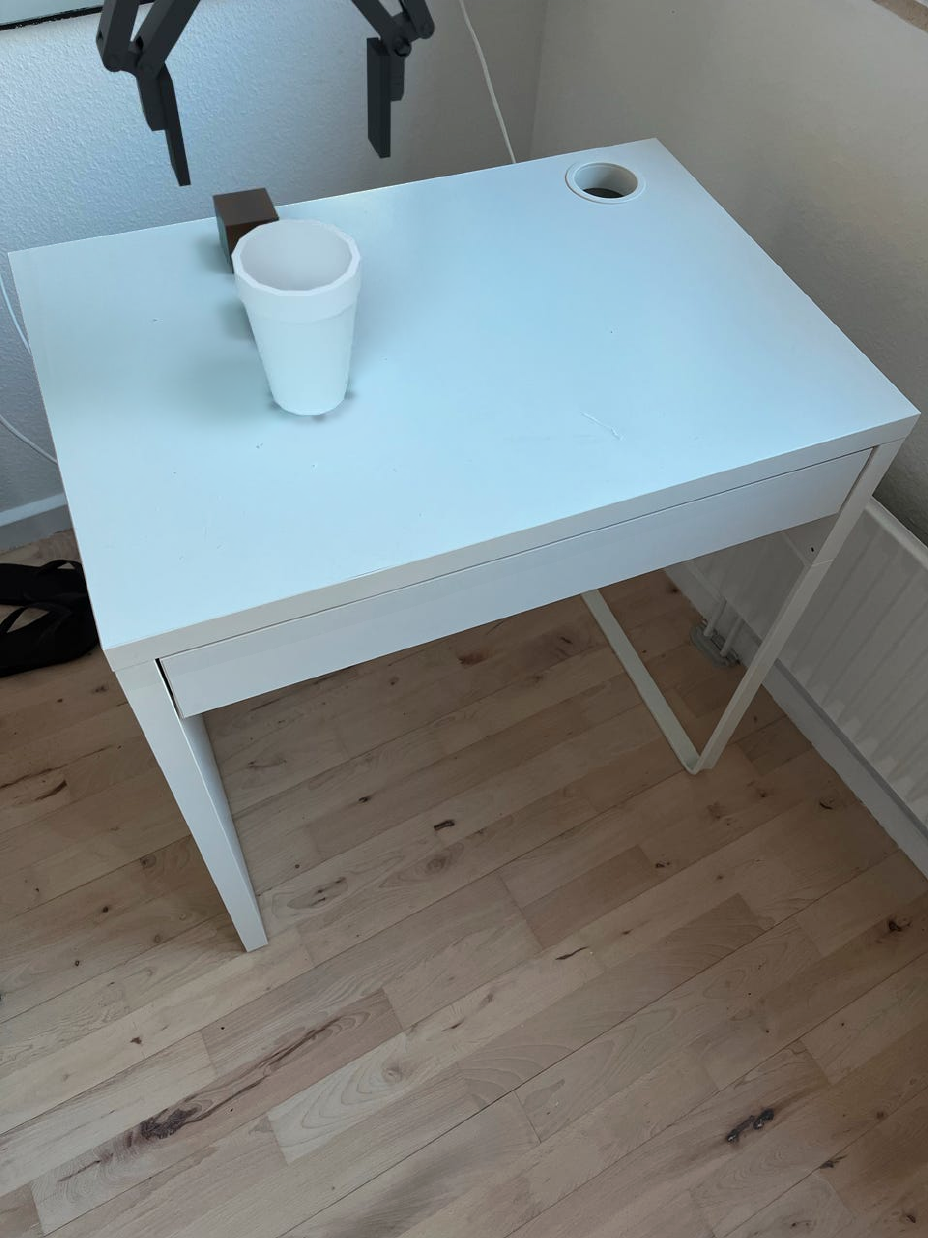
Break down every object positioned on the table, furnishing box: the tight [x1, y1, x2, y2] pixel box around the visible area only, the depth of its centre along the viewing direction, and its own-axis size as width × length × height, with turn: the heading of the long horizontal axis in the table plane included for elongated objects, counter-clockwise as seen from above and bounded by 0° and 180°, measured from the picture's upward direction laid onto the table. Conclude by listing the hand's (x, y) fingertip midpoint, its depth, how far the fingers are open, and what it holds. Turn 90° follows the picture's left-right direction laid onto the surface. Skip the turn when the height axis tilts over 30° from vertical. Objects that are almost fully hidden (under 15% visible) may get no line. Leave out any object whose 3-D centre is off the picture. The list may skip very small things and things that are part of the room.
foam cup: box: [231, 218, 363, 416], centre depth 75 cm, size 10×9×13 cm
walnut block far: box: [212, 187, 280, 275], centre depth 88 cm, size 5×5×5 cm
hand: (282, 161), depth 63 cm, fingers open, 13 cm apart
